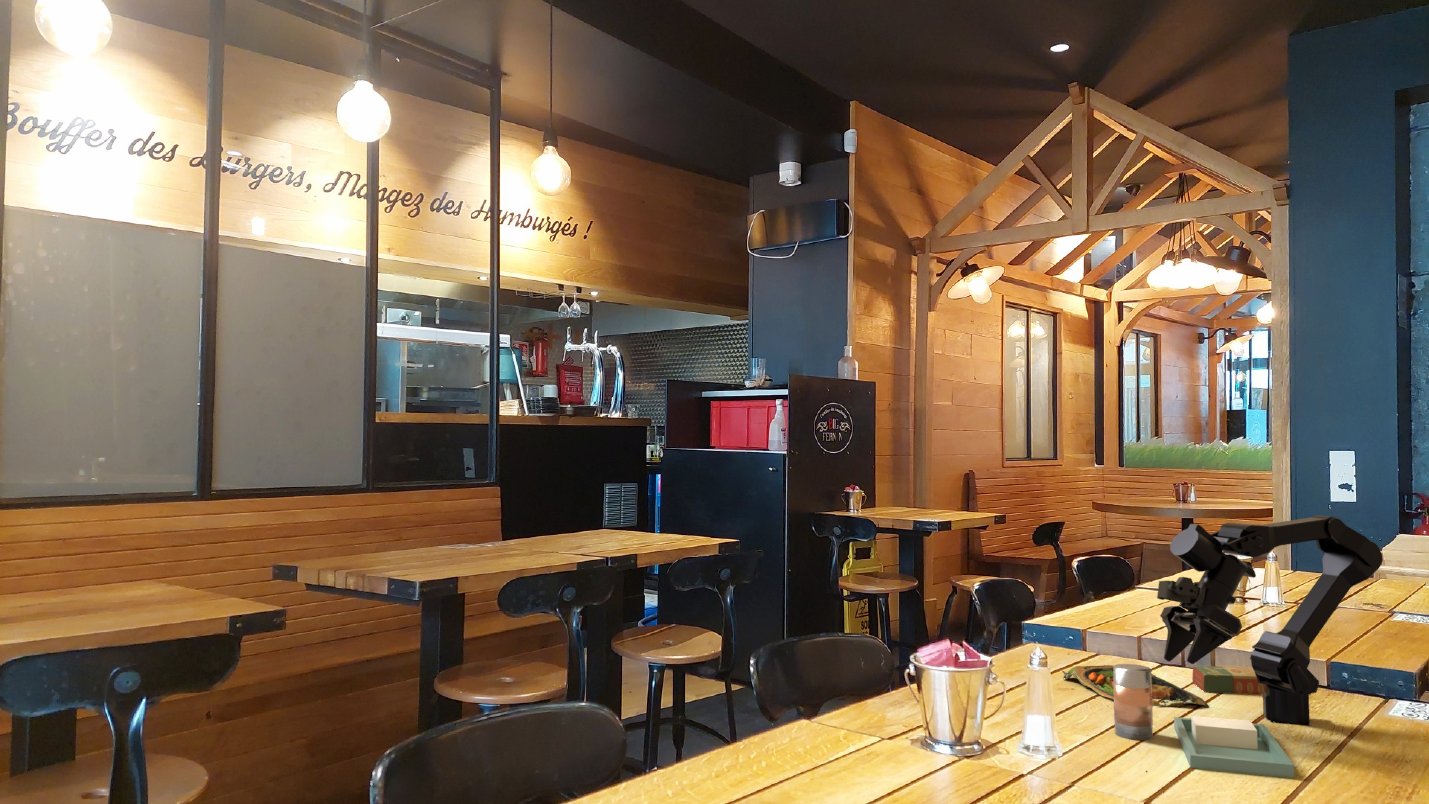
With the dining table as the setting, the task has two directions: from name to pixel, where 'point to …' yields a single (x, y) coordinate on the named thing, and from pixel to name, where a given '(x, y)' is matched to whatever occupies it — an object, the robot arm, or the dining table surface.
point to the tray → (1235, 753)
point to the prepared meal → (1103, 685)
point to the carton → (1227, 680)
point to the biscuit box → (1224, 732)
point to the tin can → (1133, 701)
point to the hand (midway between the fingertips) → (1177, 661)
